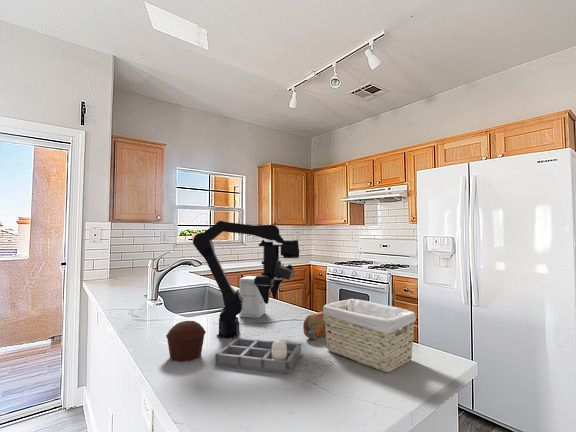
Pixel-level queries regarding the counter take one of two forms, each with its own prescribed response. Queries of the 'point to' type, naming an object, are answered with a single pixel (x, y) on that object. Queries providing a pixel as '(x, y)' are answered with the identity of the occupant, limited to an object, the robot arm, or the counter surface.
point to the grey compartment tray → (257, 356)
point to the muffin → (185, 341)
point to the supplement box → (251, 298)
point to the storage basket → (370, 333)
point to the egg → (279, 350)
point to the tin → (314, 326)
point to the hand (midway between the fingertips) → (270, 301)
